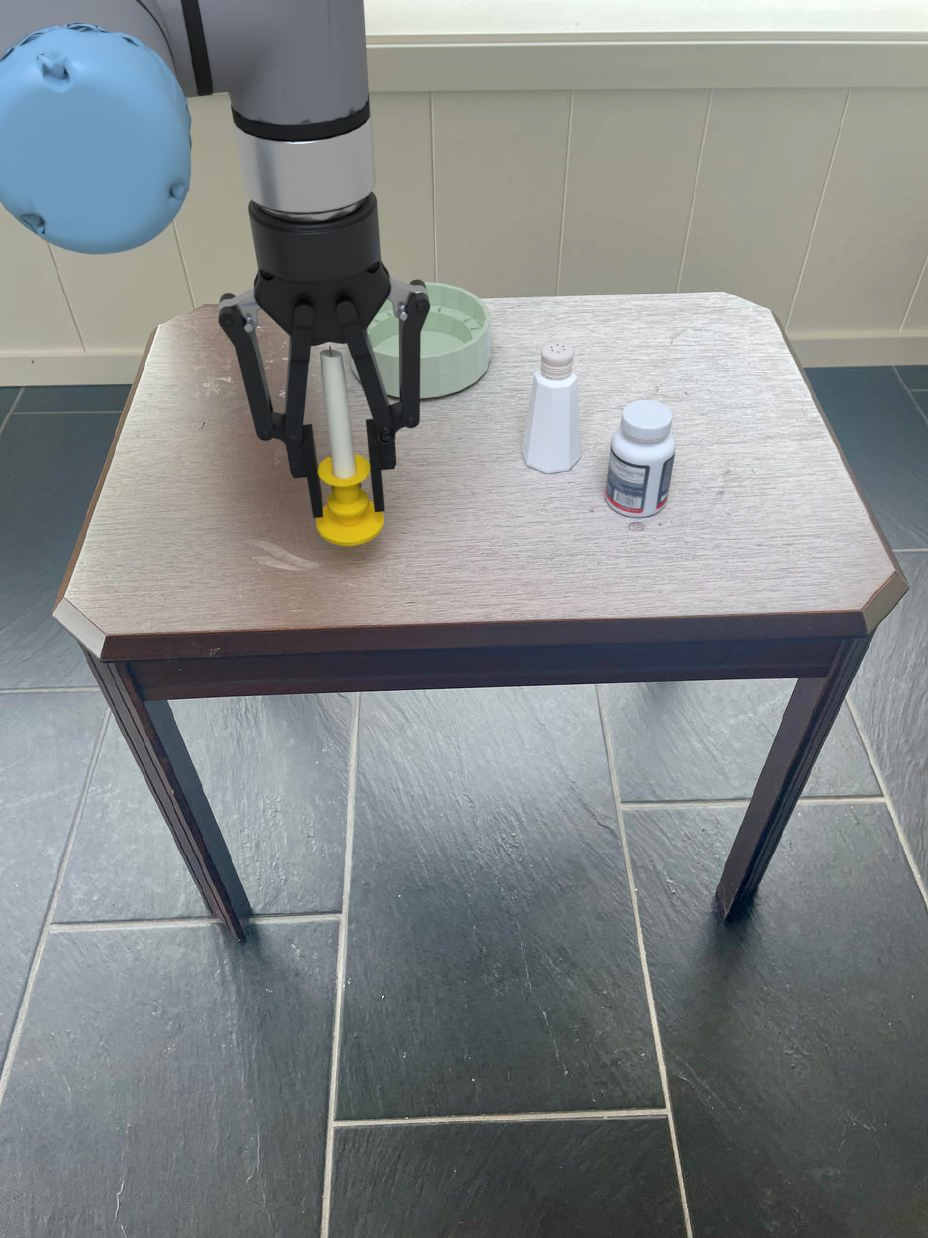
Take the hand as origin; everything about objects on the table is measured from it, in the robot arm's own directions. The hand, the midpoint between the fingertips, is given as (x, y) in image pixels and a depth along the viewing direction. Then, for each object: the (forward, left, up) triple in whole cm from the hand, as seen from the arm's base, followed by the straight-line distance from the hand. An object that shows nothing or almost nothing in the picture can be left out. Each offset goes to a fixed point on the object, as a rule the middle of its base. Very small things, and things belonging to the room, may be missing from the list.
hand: (348, 502), depth 73 cm
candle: (0, 0, -2) cm, 2 cm away
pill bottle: (+24, +5, -7) cm, 26 cm away
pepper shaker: (+18, +12, -7) cm, 23 cm away
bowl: (+8, +29, -7) cm, 31 cm away
